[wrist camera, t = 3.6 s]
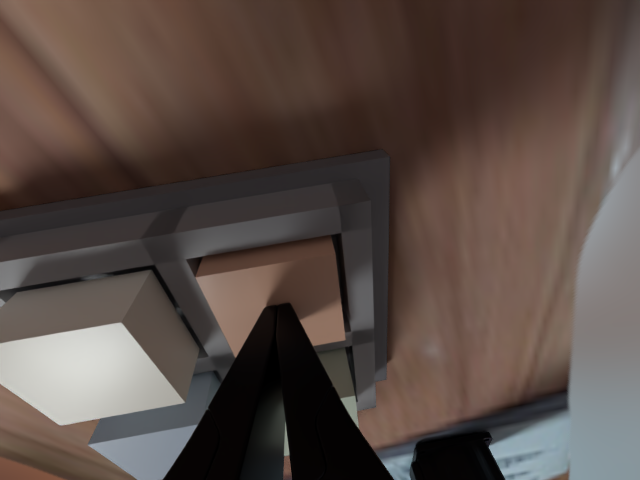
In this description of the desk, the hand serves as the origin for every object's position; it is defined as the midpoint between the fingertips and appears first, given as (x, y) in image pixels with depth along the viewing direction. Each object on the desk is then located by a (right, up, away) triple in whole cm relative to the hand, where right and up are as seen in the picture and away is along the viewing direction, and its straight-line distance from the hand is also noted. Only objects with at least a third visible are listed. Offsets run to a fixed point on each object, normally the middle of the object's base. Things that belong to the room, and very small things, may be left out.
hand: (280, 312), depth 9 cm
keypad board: (-3, -1, +4) cm, 5 cm away
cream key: (-6, 0, 0) cm, 6 cm away
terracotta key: (0, +1, +2) cm, 2 cm away
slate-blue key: (-5, -5, +4) cm, 8 cm away
